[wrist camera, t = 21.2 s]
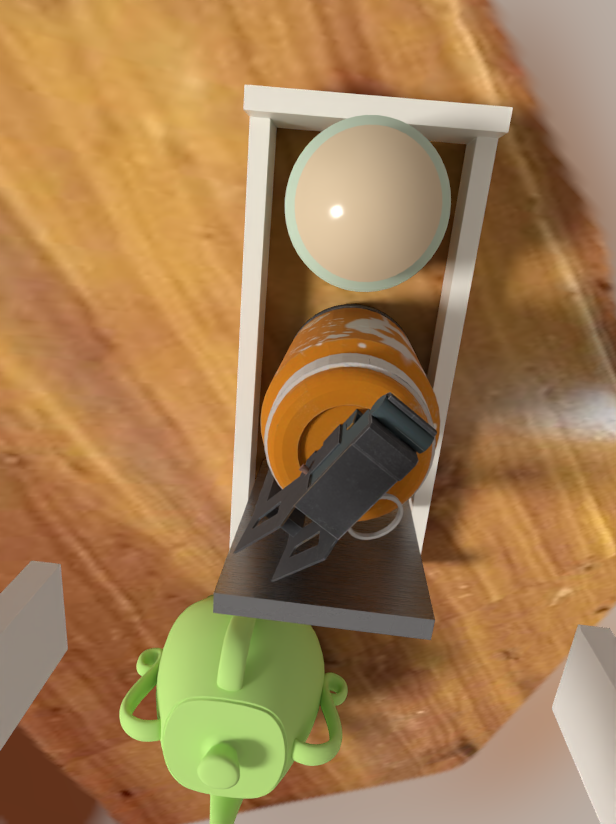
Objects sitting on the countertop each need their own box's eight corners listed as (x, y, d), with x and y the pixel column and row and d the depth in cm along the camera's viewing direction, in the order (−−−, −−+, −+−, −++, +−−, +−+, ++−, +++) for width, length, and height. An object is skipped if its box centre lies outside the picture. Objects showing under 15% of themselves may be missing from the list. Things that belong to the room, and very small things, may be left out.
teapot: (371, 676, 48) (379, 824, 36) (243, 733, 51) (211, 886, 39) (270, 542, 44) (242, 658, 32) (138, 612, 47) (69, 742, 35)
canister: (439, 358, 38) (525, 487, 19) (338, 465, 41) (326, 664, 22) (343, 275, 37) (333, 326, 18) (247, 392, 40) (152, 540, 21)
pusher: (263, 459, 41) (213, 592, 26) (403, 475, 41) (434, 619, 26) (260, 496, 42) (211, 644, 27) (397, 511, 42) (424, 671, 27)
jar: (307, 140, 34) (288, 101, 24) (432, 152, 34) (471, 117, 23) (296, 269, 37) (276, 286, 26) (413, 281, 36) (439, 302, 26)
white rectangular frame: (259, 104, 34) (244, 84, 29) (489, 124, 33) (513, 107, 28) (236, 541, 44) (223, 579, 39) (410, 562, 44) (418, 602, 39)
